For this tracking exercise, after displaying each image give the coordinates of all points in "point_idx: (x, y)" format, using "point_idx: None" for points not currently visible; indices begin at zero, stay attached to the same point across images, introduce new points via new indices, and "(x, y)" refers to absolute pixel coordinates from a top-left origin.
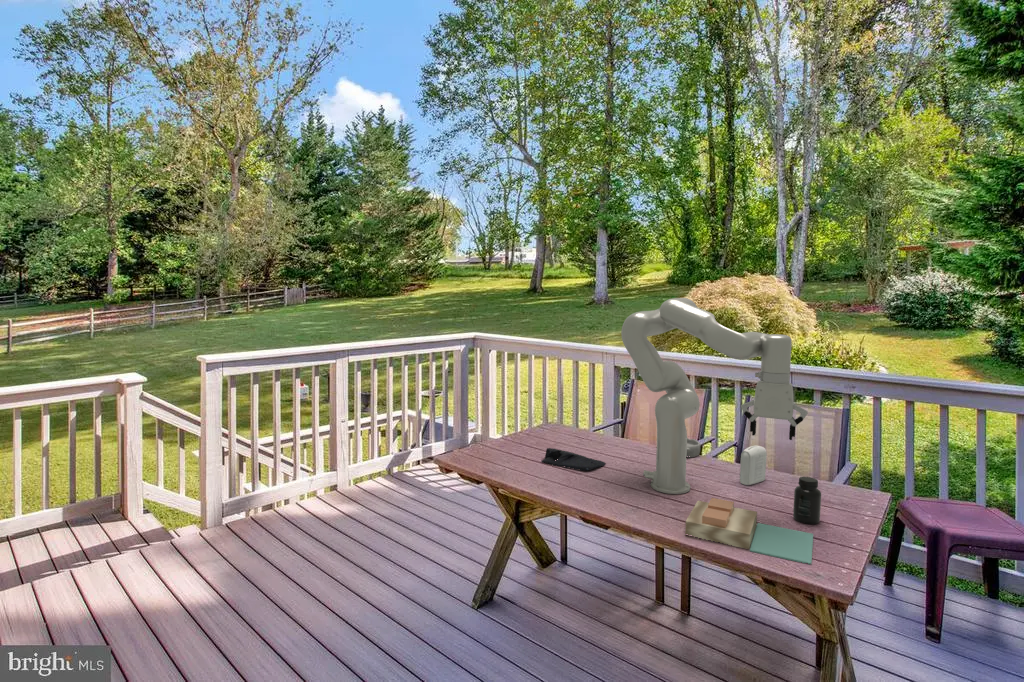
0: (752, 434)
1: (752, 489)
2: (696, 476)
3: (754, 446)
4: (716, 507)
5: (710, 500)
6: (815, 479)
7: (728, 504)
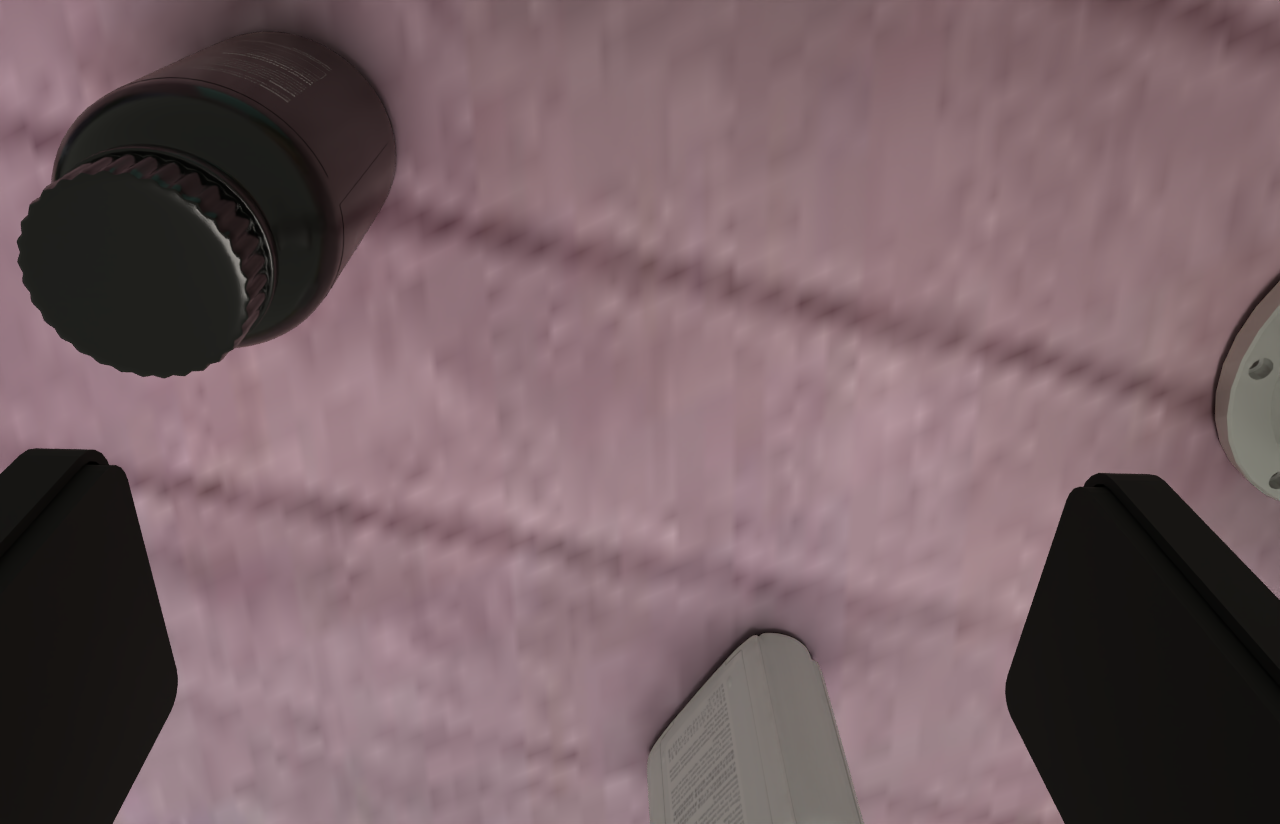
0: (1152, 481)
1: (728, 578)
2: None
3: None
4: None
5: None
6: (59, 311)
7: None
